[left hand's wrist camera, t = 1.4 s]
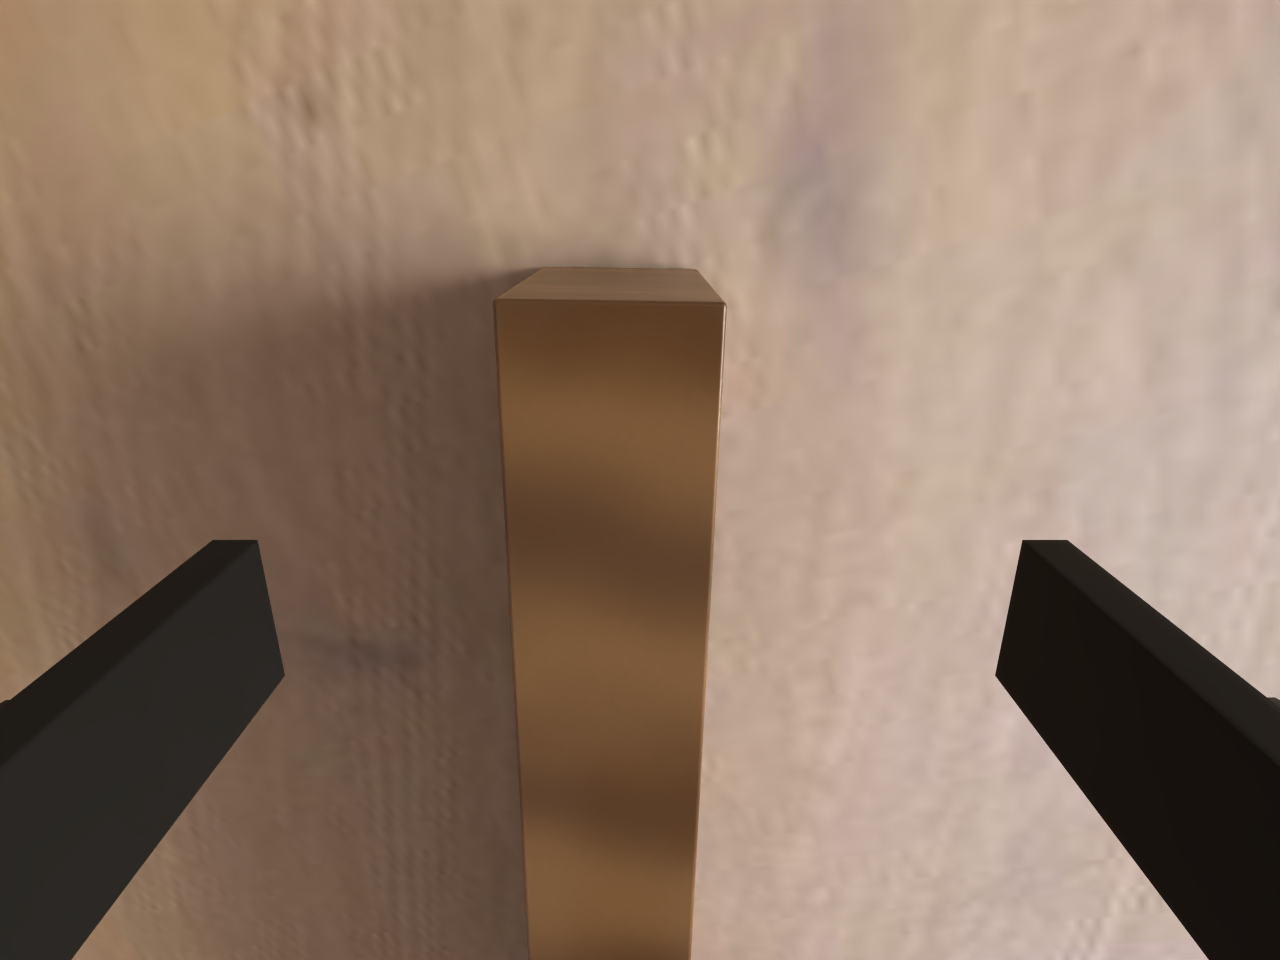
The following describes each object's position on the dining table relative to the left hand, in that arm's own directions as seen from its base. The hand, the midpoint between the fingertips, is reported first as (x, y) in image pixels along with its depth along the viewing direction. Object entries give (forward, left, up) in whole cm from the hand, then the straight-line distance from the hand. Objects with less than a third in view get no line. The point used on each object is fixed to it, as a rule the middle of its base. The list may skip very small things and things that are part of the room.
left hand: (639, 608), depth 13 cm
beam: (+21, +4, -13) cm, 25 cm away
